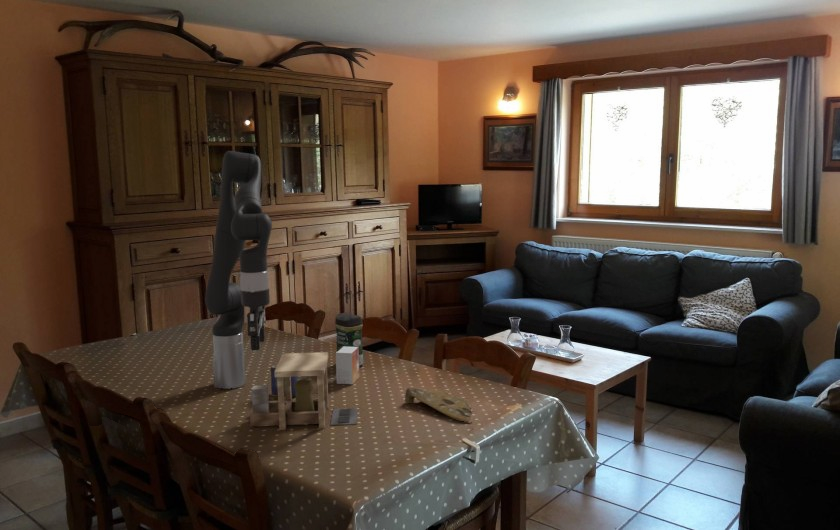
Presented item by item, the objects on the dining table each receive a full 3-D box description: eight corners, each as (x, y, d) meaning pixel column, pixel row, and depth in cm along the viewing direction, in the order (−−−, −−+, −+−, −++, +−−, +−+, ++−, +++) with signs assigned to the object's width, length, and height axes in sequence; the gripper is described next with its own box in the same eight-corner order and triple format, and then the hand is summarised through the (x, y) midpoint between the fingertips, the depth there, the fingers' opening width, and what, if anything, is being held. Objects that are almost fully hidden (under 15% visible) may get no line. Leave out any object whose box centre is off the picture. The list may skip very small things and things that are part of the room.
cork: (295, 414, 190) (293, 377, 188) (316, 413, 190) (315, 376, 189) (293, 423, 184) (291, 384, 182) (315, 422, 184) (313, 383, 183)
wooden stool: (277, 431, 178) (274, 371, 176) (285, 408, 195) (282, 353, 193) (356, 427, 180) (354, 368, 177) (357, 405, 196) (355, 351, 194)
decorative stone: (401, 402, 198) (404, 386, 197) (438, 398, 208) (441, 383, 208) (459, 437, 180) (462, 419, 179) (497, 430, 190) (500, 413, 189)
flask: (300, 394, 206) (299, 361, 205) (296, 398, 204) (295, 364, 202) (273, 392, 209) (272, 359, 207) (269, 395, 206) (267, 362, 204)
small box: (352, 385, 215) (351, 353, 213) (336, 384, 216) (335, 352, 214) (360, 377, 223) (359, 346, 221) (343, 376, 224) (342, 345, 222)
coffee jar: (332, 364, 237) (330, 313, 234) (350, 360, 242) (348, 310, 240) (349, 370, 230) (348, 317, 227) (367, 365, 236) (365, 314, 233)
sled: (250, 426, 181) (248, 394, 179) (257, 411, 191) (255, 381, 190) (323, 423, 182) (322, 391, 181) (326, 408, 193) (324, 378, 191)
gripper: (245, 283, 187) (248, 339, 190) (235, 293, 173) (239, 353, 176) (272, 282, 188) (275, 338, 190) (264, 292, 174) (268, 352, 176)
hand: (258, 345), depth 183 cm, fingers open, 8 cm apart
